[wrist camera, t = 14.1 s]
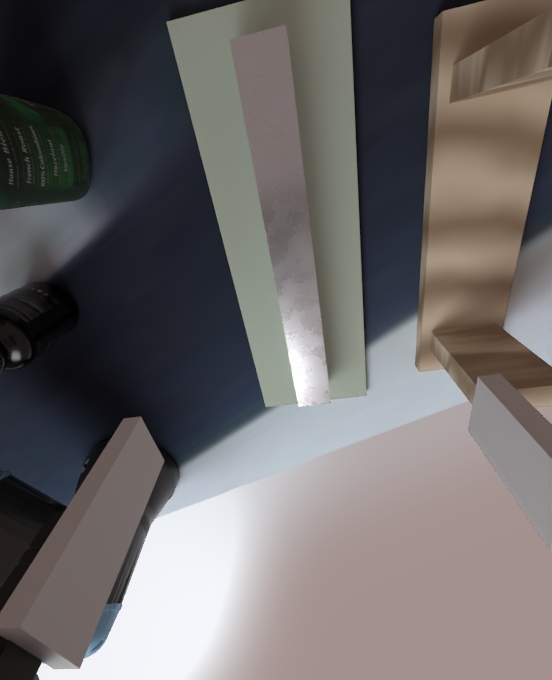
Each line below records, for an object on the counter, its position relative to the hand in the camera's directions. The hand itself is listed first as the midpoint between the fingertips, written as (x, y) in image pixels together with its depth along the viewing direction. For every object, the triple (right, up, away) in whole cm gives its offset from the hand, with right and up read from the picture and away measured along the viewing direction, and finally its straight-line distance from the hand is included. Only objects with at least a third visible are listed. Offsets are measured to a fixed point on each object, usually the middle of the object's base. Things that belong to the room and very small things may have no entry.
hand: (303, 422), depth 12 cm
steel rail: (+1, +12, +20) cm, 24 cm away
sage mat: (+1, +12, +21) cm, 24 cm away
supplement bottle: (-28, +7, +25) cm, 39 cm away
